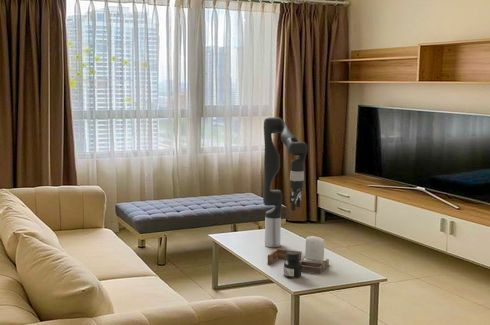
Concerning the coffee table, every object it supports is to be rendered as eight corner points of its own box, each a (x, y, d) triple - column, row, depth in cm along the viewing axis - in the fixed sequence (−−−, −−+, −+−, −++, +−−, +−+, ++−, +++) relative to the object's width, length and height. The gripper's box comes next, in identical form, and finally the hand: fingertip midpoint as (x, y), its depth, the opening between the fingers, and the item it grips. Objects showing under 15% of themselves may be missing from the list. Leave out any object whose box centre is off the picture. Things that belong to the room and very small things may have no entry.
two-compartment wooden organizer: (305, 261, 321) (305, 255, 321) (328, 264, 316) (328, 258, 316) (295, 270, 306) (295, 264, 305) (320, 274, 301) (320, 267, 300)
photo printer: (325, 260, 313) (325, 237, 312) (321, 262, 310) (322, 239, 308) (307, 256, 319) (308, 234, 317) (303, 258, 315) (304, 236, 313)
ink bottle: (280, 273, 300) (280, 250, 298) (295, 271, 304) (296, 249, 302) (289, 279, 291) (289, 256, 290) (305, 277, 295) (305, 254, 293)
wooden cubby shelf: (276, 257, 328) (276, 248, 327) (301, 260, 322) (301, 251, 322) (267, 264, 315) (267, 255, 314) (293, 267, 310) (293, 258, 309)
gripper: (294, 176, 327) (293, 205, 329) (285, 180, 314) (285, 210, 316) (307, 177, 324) (306, 206, 326) (299, 181, 311) (298, 212, 313)
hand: (295, 208), depth 321 cm, fingers open, 8 cm apart
